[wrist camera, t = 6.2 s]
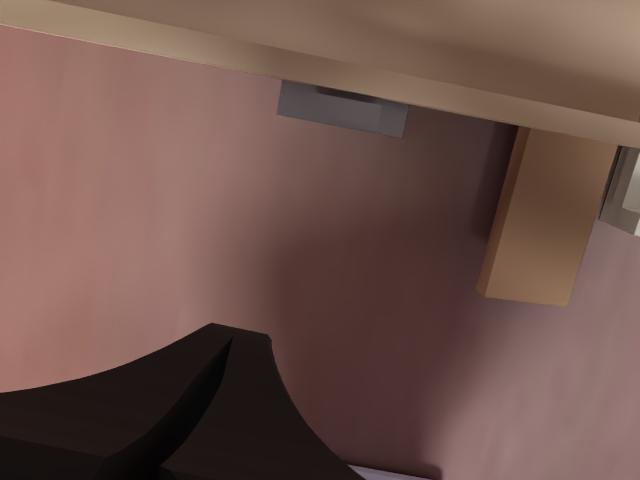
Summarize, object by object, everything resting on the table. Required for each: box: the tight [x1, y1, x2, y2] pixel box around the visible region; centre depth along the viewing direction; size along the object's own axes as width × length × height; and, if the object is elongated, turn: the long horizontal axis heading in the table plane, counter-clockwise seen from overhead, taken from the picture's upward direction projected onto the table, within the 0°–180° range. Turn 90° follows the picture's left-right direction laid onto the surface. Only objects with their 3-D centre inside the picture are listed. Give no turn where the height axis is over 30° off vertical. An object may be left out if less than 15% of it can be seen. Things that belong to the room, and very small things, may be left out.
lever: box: [0, 0, 640, 307], centre depth 15 cm, size 11×20×2 cm, turn 80°
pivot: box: [277, 80, 409, 138], centre depth 16 cm, size 7×4×4 cm, turn 170°
